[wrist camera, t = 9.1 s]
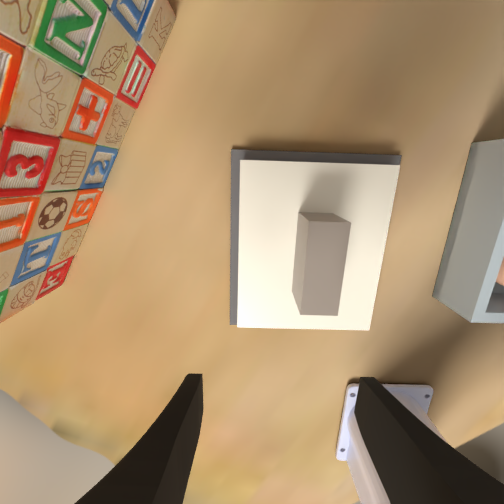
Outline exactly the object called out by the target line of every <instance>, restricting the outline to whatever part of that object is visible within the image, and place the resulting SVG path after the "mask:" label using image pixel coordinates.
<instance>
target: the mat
mask: <svg viewBox="0 0 504 504" xmlns="http://www.w3.org/2000/svg"><path fill="white" fill-rule="evenodd" d="M401 156H402V155H381V154H352V153H323V152H294V151H265V150H236V149H231V249H230V325H237V311H238V253H239V195H240V160H261V161H290V162H320V163H349V164H379V165H400V161H401Z"/></svg>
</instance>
